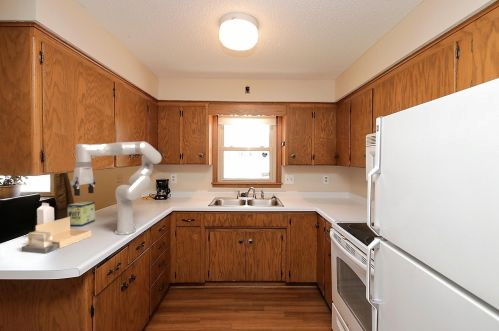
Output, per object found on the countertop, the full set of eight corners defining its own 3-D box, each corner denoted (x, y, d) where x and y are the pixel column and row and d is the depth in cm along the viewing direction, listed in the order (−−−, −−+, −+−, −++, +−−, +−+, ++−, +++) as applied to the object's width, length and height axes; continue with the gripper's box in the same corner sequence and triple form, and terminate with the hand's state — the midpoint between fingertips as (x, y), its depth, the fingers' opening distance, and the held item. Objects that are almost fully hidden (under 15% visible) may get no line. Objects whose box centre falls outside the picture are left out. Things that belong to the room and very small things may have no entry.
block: (37, 243, 139) (37, 230, 139) (52, 244, 137) (52, 231, 137) (28, 246, 135) (28, 233, 135) (44, 247, 133) (43, 234, 133)
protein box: (67, 226, 183) (66, 205, 183) (82, 221, 199) (81, 201, 198) (81, 226, 183) (81, 205, 182) (95, 221, 199) (95, 201, 198)
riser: (34, 247, 141) (34, 242, 141) (57, 249, 138) (57, 244, 138) (22, 252, 135) (21, 246, 134) (45, 254, 132) (45, 248, 132)
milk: (48, 237, 160) (47, 202, 159) (55, 238, 158) (54, 202, 157) (37, 239, 154) (36, 203, 154) (44, 241, 152) (43, 204, 151)
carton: (69, 235, 163) (69, 216, 162) (91, 237, 160) (90, 218, 159) (36, 247, 142) (35, 225, 142) (59, 249, 139) (59, 227, 139)
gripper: (90, 164, 158) (90, 192, 159) (64, 165, 141) (65, 196, 142) (100, 164, 157) (101, 192, 157) (76, 165, 140) (77, 196, 140)
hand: (84, 194), depth 149 cm, fingers open, 9 cm apart
